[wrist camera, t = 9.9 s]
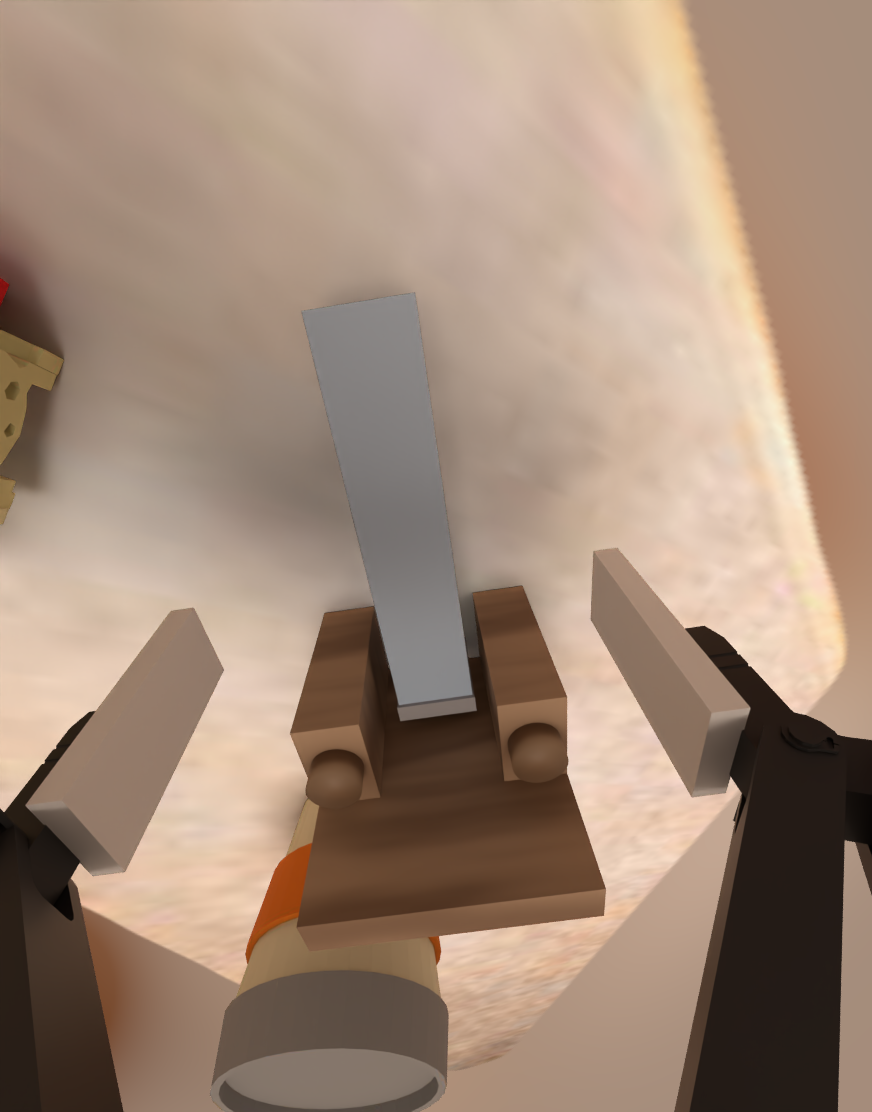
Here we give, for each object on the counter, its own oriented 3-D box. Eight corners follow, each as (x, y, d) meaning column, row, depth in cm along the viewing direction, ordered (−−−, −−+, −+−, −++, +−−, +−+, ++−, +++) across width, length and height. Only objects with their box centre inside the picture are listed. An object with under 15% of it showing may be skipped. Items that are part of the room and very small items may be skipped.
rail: (322, 311, 20) (297, 311, 16) (416, 296, 20) (417, 291, 16) (402, 658, 30) (400, 721, 25) (466, 649, 30) (476, 710, 25)
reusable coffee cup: (324, 739, 33) (266, 1027, 20) (468, 795, 37) (500, 1069, 23) (253, 833, 38) (168, 1116, 24) (387, 873, 41) (376, 1140, 28)
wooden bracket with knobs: (324, 613, 28) (255, 853, 16) (522, 585, 28) (611, 808, 15) (349, 697, 31) (309, 951, 19) (527, 674, 31) (603, 915, 19)
